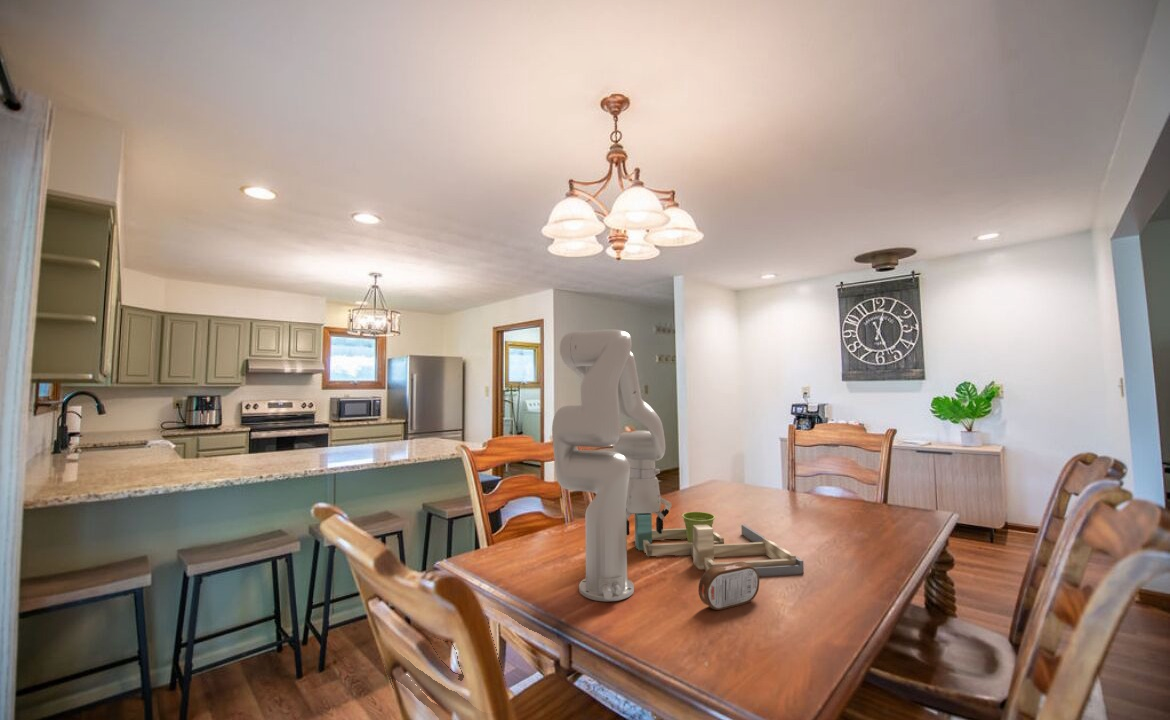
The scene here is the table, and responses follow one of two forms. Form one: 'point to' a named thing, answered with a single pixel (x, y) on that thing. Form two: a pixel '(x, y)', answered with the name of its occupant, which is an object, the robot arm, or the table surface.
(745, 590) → the tin
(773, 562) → the frame
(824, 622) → the table surface
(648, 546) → the pot
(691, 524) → the plant pot
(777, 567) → the rack
